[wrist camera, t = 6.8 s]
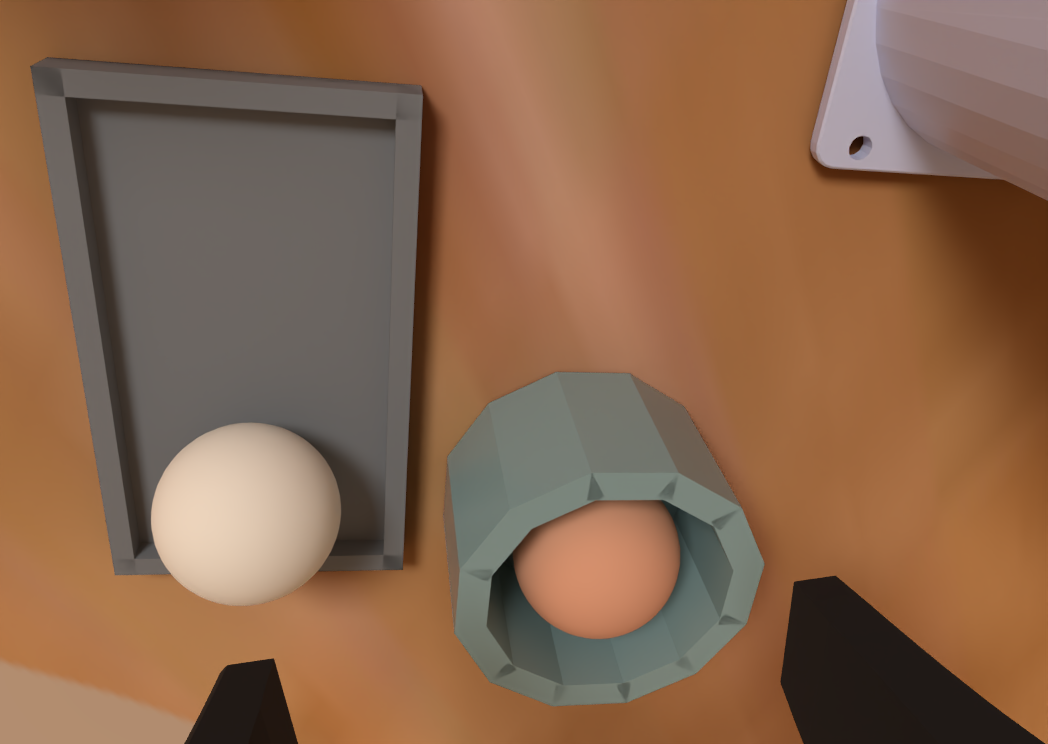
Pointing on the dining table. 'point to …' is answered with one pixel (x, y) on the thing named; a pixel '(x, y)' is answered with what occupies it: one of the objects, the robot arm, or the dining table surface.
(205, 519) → the ball cream
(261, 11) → the dining table surface
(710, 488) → the teal tube
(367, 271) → the slate tray
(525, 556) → the ball terracotta
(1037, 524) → the dining table surface
